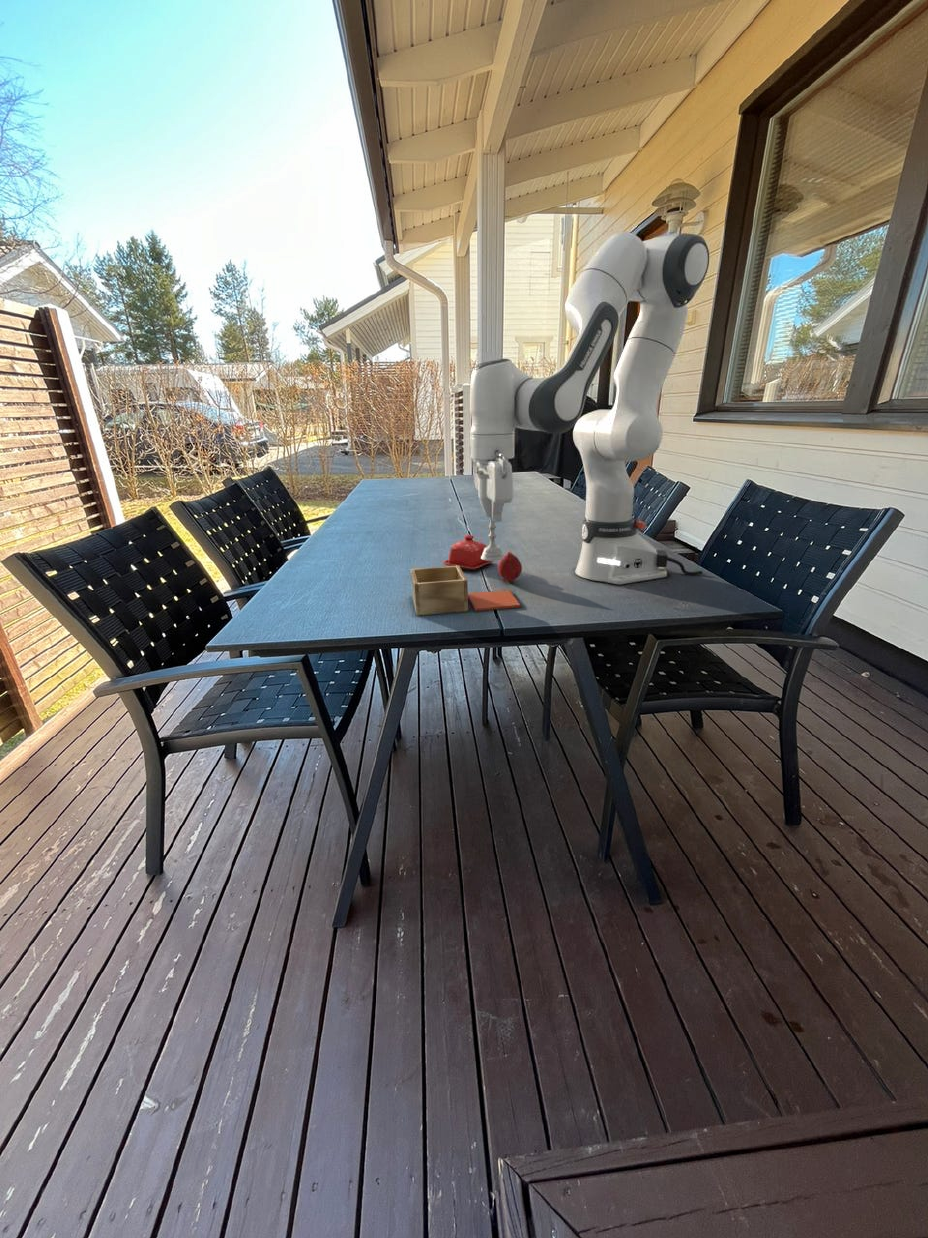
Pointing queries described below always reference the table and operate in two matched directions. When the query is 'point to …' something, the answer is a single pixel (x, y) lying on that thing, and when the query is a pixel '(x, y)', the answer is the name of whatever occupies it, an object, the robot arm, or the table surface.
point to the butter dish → (467, 554)
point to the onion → (509, 567)
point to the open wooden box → (439, 590)
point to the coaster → (493, 600)
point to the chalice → (492, 550)
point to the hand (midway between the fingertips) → (492, 517)
